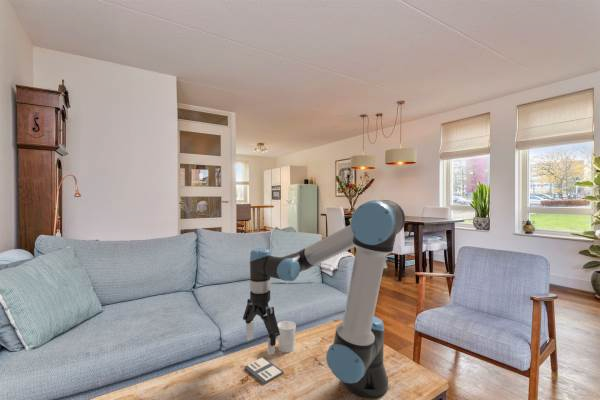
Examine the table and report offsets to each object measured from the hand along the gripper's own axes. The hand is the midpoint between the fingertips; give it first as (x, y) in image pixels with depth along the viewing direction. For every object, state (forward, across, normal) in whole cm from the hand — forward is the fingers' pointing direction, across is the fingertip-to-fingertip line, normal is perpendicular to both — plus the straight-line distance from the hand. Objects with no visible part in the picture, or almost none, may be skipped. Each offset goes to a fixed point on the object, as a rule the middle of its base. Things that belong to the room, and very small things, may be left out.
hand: (260, 346), depth 108 cm
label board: (+8, -3, 0) cm, 9 cm away
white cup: (+8, +3, -16) cm, 18 cm away
